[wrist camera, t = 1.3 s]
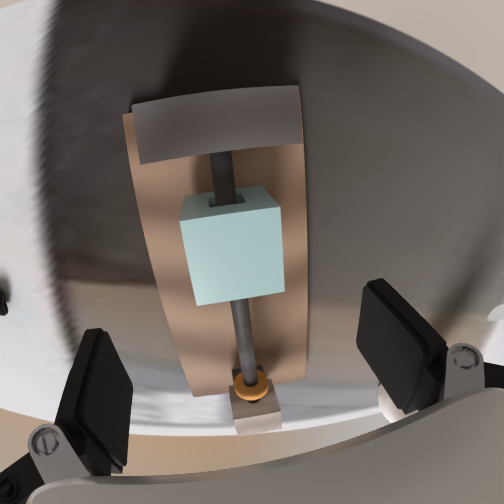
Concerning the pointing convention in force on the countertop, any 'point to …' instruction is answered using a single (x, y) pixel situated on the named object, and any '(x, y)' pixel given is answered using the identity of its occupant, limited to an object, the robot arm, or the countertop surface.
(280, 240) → the sleeve
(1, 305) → the electric trimmer
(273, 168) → the linear slide rail
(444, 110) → the countertop surface
